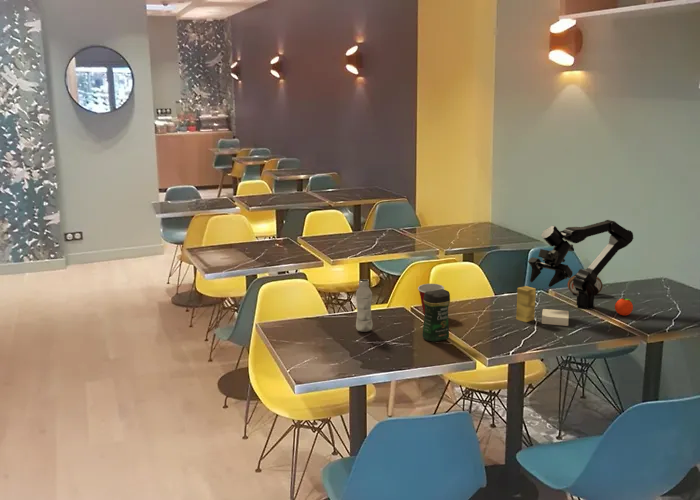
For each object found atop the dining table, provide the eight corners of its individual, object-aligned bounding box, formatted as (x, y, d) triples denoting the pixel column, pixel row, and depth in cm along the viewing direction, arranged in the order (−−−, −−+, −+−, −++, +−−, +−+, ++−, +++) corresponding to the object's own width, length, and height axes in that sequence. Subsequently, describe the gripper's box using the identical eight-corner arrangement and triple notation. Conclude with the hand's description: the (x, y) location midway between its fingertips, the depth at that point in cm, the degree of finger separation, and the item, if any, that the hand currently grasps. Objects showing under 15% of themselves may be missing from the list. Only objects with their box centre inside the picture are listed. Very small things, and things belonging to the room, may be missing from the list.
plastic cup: (413, 317, 289) (414, 289, 287) (421, 310, 299) (422, 282, 296) (440, 320, 285) (440, 291, 283) (446, 312, 295) (447, 284, 292)
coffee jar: (431, 343, 259) (432, 294, 255) (419, 337, 266) (419, 289, 262) (452, 339, 264) (454, 291, 260) (440, 333, 271) (441, 286, 267)
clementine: (632, 312, 293) (633, 296, 292) (637, 318, 286) (638, 301, 285) (612, 312, 294) (613, 295, 292) (616, 317, 287) (618, 300, 286)
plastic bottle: (374, 329, 276) (374, 279, 271) (369, 334, 270) (369, 283, 265) (358, 327, 278) (358, 277, 274) (353, 332, 272) (353, 282, 267)
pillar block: (524, 316, 289) (525, 285, 286) (534, 319, 285) (535, 288, 282) (516, 319, 286) (517, 288, 283) (525, 322, 282) (527, 290, 279)
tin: (600, 293, 321) (602, 275, 320) (602, 295, 318) (603, 277, 317) (566, 292, 323) (567, 274, 321) (568, 294, 320) (569, 276, 318)
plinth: (568, 318, 287) (568, 310, 286) (568, 325, 278) (568, 318, 277) (542, 316, 290) (542, 308, 289) (541, 323, 281) (542, 316, 280)
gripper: (531, 238, 294) (512, 268, 290) (569, 245, 279) (550, 277, 275) (543, 253, 300) (525, 283, 296) (581, 261, 286) (562, 293, 282)
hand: (539, 284), depth 287 cm, fingers open, 9 cm apart
